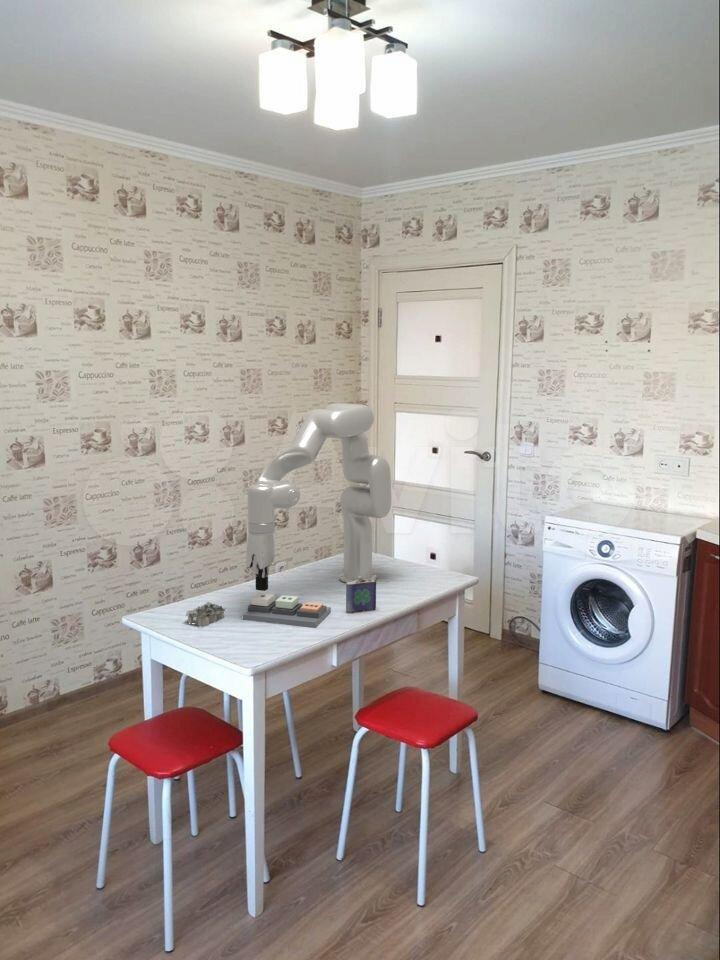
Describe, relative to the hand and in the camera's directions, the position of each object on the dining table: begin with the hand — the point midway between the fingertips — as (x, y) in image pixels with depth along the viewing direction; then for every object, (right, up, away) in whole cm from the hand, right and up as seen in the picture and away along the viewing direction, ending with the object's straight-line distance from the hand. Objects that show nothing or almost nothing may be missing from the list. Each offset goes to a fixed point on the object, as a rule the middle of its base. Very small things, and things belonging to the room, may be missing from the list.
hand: (261, 589), depth 219 cm
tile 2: (+7, -4, -1) cm, 9 cm away
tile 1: (0, -4, +1) cm, 4 cm away
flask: (+29, -7, +4) cm, 30 cm away
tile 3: (+15, -6, -3) cm, 16 cm away
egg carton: (-15, -8, -4) cm, 18 cm away
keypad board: (+7, -7, -1) cm, 11 cm away
